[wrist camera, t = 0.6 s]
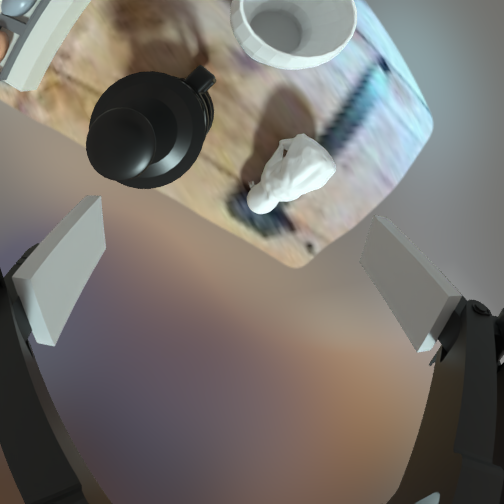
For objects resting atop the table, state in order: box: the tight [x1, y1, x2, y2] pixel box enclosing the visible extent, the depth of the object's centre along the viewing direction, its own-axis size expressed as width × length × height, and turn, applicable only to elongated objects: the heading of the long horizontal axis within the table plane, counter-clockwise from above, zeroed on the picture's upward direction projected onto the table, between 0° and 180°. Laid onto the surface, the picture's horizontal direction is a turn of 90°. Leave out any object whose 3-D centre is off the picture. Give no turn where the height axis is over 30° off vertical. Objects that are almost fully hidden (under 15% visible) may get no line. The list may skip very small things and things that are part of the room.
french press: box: [86, 65, 216, 189], centre depth 24 cm, size 12×9×23 cm
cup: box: [230, 0, 357, 70], centre depth 24 cm, size 11×11×15 cm
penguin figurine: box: [247, 133, 336, 214], centre depth 36 cm, size 6×8×12 cm
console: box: [0, 0, 91, 92], centre depth 20 cm, size 22×14×6 cm, turn 142°
